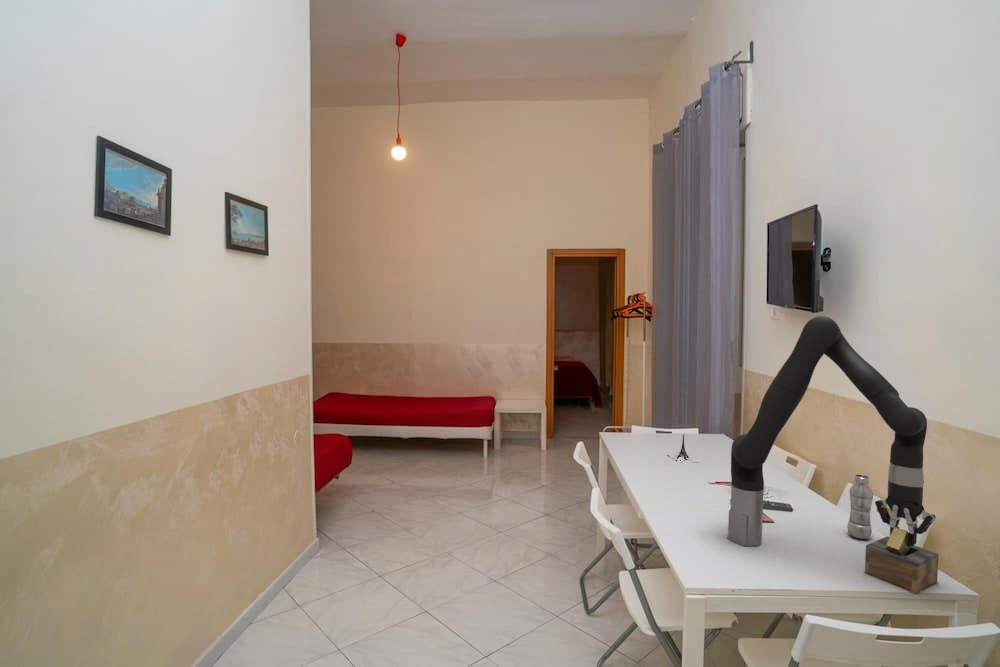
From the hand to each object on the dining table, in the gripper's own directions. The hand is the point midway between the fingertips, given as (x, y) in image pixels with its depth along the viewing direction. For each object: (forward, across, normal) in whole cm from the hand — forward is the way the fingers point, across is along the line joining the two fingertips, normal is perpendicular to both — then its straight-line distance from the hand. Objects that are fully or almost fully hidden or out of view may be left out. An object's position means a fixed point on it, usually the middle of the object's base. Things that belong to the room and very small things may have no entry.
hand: (902, 543), depth 141 cm
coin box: (+10, 0, 0) cm, 10 cm away
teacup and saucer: (+10, -62, +27) cm, 68 cm away
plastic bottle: (+10, -19, +18) cm, 28 cm away
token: (+2, 0, -4) cm, 4 cm away
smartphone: (+10, -47, +5) cm, 48 cm away
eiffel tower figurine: (+10, -108, +37) cm, 115 cm away
